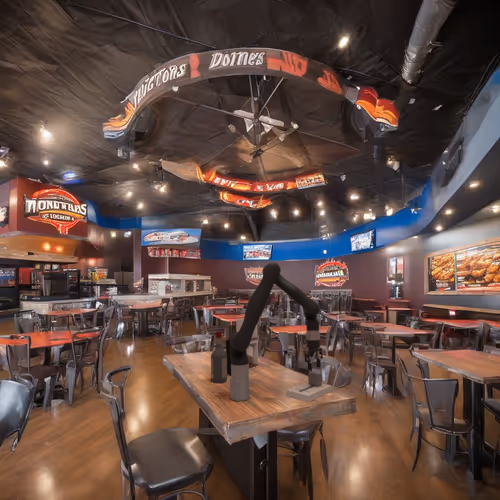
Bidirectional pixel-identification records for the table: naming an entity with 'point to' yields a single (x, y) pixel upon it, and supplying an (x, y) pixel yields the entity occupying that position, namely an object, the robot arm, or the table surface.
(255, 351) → the display case
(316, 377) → the fader knob
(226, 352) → the portable radio
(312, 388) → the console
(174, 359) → the table surface
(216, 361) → the liquor
